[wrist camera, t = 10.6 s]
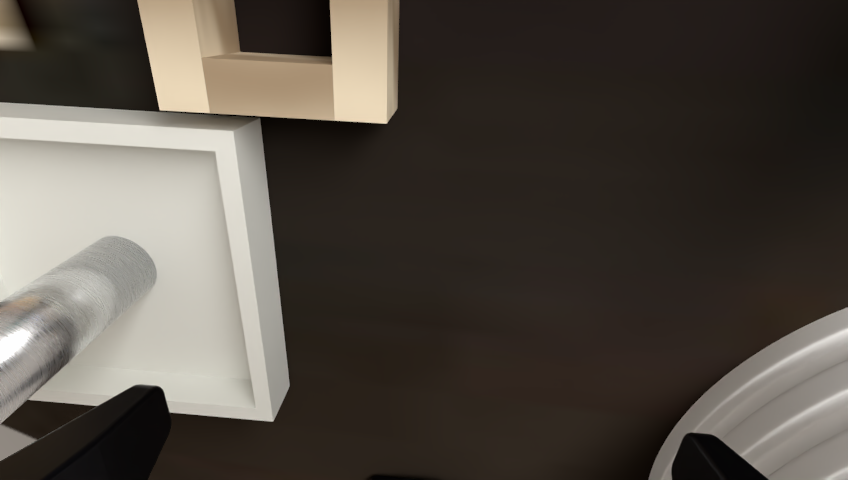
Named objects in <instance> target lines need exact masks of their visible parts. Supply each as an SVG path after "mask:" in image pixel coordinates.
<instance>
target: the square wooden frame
mask: <svg viewBox="0 0 848 480" xmlns="http://www.w3.org/2000/svg"><path fill="white" fill-rule="evenodd" d="M137 1H138V6H139V11H140V16H141V21H142V26H143V30H144V35H145V40H146V45H147V50H148V55H149V60H150V65H151V70H152V75H153V79H154V84H155V89H156V94H157V99H158V104H159V109H160V110H163V111H180V112H197V113H214V114H231V115H247V116H264V117H281V118H298V119H315V120H332V121H349V122H366V123H383V124H387V123H388V121H389V120H390V118H391V117H392V115H393V114H394V113H395V111H396V110H397V103H398V47H399V0H330V18H331V42H332V57H324V56H305V55H286V54H267V53H248V52H240V46H239V37H238V29H237V21H236V13H235V5H234V0H137Z"/></svg>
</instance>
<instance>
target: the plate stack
mask: <svg viewBox="0 0 848 480" xmlns="http://www.w3.org/2000/svg"><path fill="white" fill-rule="evenodd" d="M690 432H693V433H705V434H711V435H714V436H716V437H717V438H719V439H720V440H721V441H723V442H724V443H725V444H726V445H727V446H729V447H730V448H731V449H732V450H734V451H735V452H736V453H737V454H738V455H740V456H741V457H742V458H743V459H745V460H746V461H747V462H748V463H749V464H751V465H752V466H753V467H754V468H755V469H757V470H758V471H759V472H760V473H762V474H763V475H764V476H765V477H766V478H768V479H769V480H848V308H845V309H843V310H840V311H838V312H835V313H833V314H830V315H828V316H826V317H824V318H821V319H819V320H817V321H815V322H812V323H810V324H808V325H806V326H804V327H802V328H800V329H798V330H796V331H794V332H792V333H790V334H789V335H787V336H785V337H783V338H781V339H779V340H778V341H776V342H774V343H772V344H771V345H769V346H767V347H766V348H764V349H763V350H761V351H759V352H758V353H756V354H755V355H753V356H752V357H750V358H749V359H747V360H746V361H744V362H743V363H741V364H740V365H739V366H737V367H736V368H735V369H733V370H732V371H731V372H729V373H728V374H727V375H725V376H724V377H723V378H722V379H720V380H719V381H718V382H717V383H716V384H715V385H713V386H712V387H711V388H710V389H709V390H708V391H707V392H706V393H705V394H703V395H702V396H701V397H700V398H699V399H698V400H697V401H696V402H695V403H694V404H693V406H692V407H691V408H690V409H689V410H688V411H687V412H686V413H685V414H684V416H683V417H682V418H681V419H680V421H679V422H678V423H677V424H676V426H675V427H674V428H673V430H672V431H671V433H670V434H669V436H668V437H667V439H666V440H665V442H664V444H663V446H662V447H661V449H660V451H659V453H658V455H657V457H656V459H655V462H654V464H653V467H652V469H651V472H650V476H649V479H648V480H672V475H671V469H672V464H673V461H674V459H675V456H676V454H677V451H678V449H679V446H680V444H681V441H682V439H683V437H684V435H686V434H687V433H690Z"/></svg>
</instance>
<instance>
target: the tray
mask: <svg viewBox="0 0 848 480" xmlns="http://www.w3.org/2000/svg"><path fill="white" fill-rule="evenodd" d="M108 236H117V237H122V238H126V239H129V240H131V241H133V242H135V243H136V244H138V245H139V246H141V247H142V248H143V249H144V250H145V251H146V252H147V253H148V254H149V255H150V257H151V258H152V260H153V262H154V264H155V267H156V270H157V279H156V282H155V284H154V286H153V287H152V288H151V289H150V290H149V291H148V292H147V293H146V294H145V295H144V296H142V297H141V298H140V299H139V300H138V301H137V302H136V303H135V304H134V305H132V306H131V307H130V308H129V309H128V310H127V311H126V312H125V313H123V314H122V315H121V316H120V317H119V318H118V319H117V320H116V321H115V322H113V323H112V324H111V325H110V326H109V327H108V328H107V329H106V330H105V331H103V332H102V333H101V334H100V335H99V336H98V337H97V338H96V339H94V340H93V341H92V342H91V343H90V344H89V345H88V346H87V347H86V348H84V349H83V350H82V351H81V352H80V353H79V354H78V355H77V356H76V357H74V358H73V359H72V360H71V361H70V362H69V363H68V364H67V365H65V366H64V367H63V368H62V369H61V370H60V371H59V372H58V373H57V374H55V375H54V376H53V377H52V378H51V379H50V380H49V381H48V382H47V383H45V384H44V385H43V386H42V387H41V388H40V389H39V390H38V391H36V392H35V393H34V394H33V395H32V396H31V397H30V398H29V399H28V400H37V401H48V402H59V403H70V404H81V405H93V406H98V405H100V404H102V403H104V402H105V401H107V400H109V399H111V398H112V397H114V396H116V395H118V394H119V393H121V392H123V391H125V390H126V389H128V388H130V387H132V386H134V385H138V384H144V385H155V386H160V387H161V388H162V389H163V391H164V394H165V398H166V401H167V405H168V409H169V412H171V413H182V414H193V415H205V416H216V417H227V418H238V419H249V420H261V421H272V422H273V421H274V419H275V417H276V415H277V413H278V410H279V408H280V406H281V404H282V402H283V400H284V397H285V395H286V393H287V391H288V389H289V387H290V383H289V374H288V365H287V356H286V347H285V338H284V329H283V320H282V311H281V302H280V293H279V284H278V275H277V266H276V257H275V248H274V239H273V230H272V221H271V212H270V203H269V194H268V185H267V176H266V167H265V158H264V149H263V140H262V131H261V122H260V118H254V117H237V116H220V115H203V114H187V113H170V112H153V111H136V110H119V109H102V108H86V107H69V106H52V105H35V104H18V103H1V102H0V301H2V300H4V299H5V298H7V297H8V296H10V295H12V294H13V293H15V292H16V291H18V290H20V289H21V288H23V287H24V286H26V285H27V284H29V283H31V282H32V281H34V280H35V279H37V278H39V277H40V276H42V275H43V274H45V273H47V272H48V271H50V270H51V269H53V268H54V267H56V266H58V265H59V264H61V263H62V262H64V261H66V260H67V259H69V258H70V257H72V256H74V255H75V254H77V253H78V252H80V251H81V250H83V249H85V248H86V247H88V246H89V245H91V244H93V243H94V242H96V241H97V240H99V239H101V238H103V237H108Z"/></svg>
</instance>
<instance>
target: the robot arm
mask: <svg viewBox="0 0 848 480" xmlns="http://www.w3.org/2000/svg"><path fill="white" fill-rule="evenodd" d="M170 429H171V416H170V412H169V409H168V405H167V401H166V398H165V394H164V391H163V389H162V388H161V387H160V386H155V385H144V384H138V385H134V386H132V387H130V388H128V389H126V390H125V391H123V392H121V393H119V394H118V395H116V396H114V397H112V398H111V399H109V400H107V401H105V402H104V403H102V404H100V405H98V406H97V407H95V408H93V409H91V410H90V411H88V412H86V413H84V414H83V415H81V416H79V417H77V418H75V419H74V420H72V421H70V422H68V423H67V424H65V425H63V426H61V427H60V428H58V429H56V430H54V431H53V432H51V433H49V434H47V435H46V436H44V437H42V438H40V439H39V440H37V441H35V442H33V443H32V444H30V445H28V446H26V447H25V448H23V449H21V450H19V451H17V452H16V453H14V454H12V455H11V456H9V457H7V458H5V459H4V460H2V461H0V480H148V478H149V475H150V473H151V471H152V469H153V467H154V465H155V463H156V460H157V458H158V456H159V454H160V452H161V450H162V448H163V445H164V443H165V441H166V439H167V437H168V435H169V432H170ZM671 475H672V480H769V479H768V478H766V477H765V476H764V475H763V474H762V473H760V472H759V471H758V470H757V469H755V468H754V467H753V466H752V465H751V464H749V463H748V462H747V461H746V460H745V459H743V458H742V457H741V456H740V455H738V454H737V453H736V452H735V451H734V450H732V449H731V448H730V447H729V446H727V445H726V444H725V443H724V442H723V441H721V440H720V439H719V438H717V437H716V436H714V435H711V434H705V433H693V432H690V433H687V434H686V435H684V437H683V439H682V441H681V444H680V446H679V449H678V451H677V454H676V456H675V459H674V461H673V464H672V469H671ZM370 480H415V479H405V478H394V477H383V476H374V477H372V478H371V479H370Z"/></svg>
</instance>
